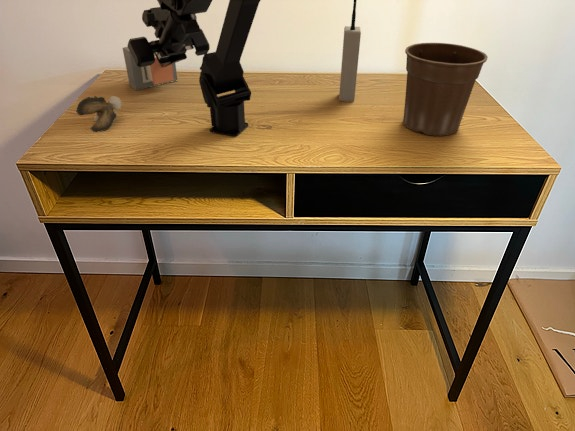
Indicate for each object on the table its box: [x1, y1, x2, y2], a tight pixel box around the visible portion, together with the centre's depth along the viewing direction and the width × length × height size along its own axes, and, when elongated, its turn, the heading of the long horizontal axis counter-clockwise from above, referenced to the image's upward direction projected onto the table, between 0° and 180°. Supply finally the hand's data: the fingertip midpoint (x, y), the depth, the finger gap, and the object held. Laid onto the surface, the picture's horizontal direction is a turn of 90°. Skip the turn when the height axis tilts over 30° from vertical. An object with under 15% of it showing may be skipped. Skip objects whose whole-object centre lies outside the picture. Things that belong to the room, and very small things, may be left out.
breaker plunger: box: [144, 54, 174, 84], centre depth 120 cm, size 10×5×6 cm, turn 39°
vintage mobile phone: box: [338, 0, 362, 103], centre depth 109 cm, size 4×5×25 cm
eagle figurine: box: [75, 95, 122, 133], centre depth 101 cm, size 8×7×9 cm
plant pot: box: [402, 42, 489, 137], centre depth 99 cm, size 16×16×16 cm
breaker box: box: [122, 46, 178, 91], centre depth 121 cm, size 4×12×10 cm, turn 129°
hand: (162, 65), depth 116 cm, fingers closed
